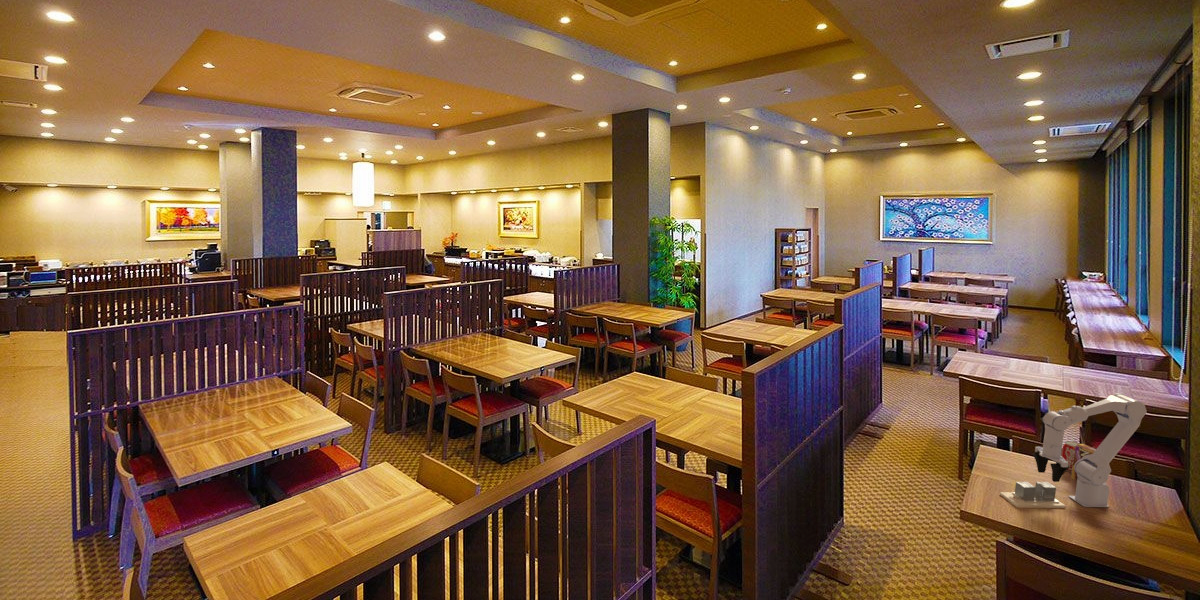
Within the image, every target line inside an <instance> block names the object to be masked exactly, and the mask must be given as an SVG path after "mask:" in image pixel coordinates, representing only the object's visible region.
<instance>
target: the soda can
mask: <svg viewBox="0 0 1200 600" xmlns="http://www.w3.org/2000/svg"><path fill="white" fill-rule="evenodd" d="M1077 444H1080V443H1079V442H1076V441H1069V440H1068V441H1066V440H1065V442H1064V444H1062V451H1061V456H1062V457H1063V458H1064V459H1065V461H1067V462H1068V466H1069V469H1067V470H1066V471H1065V472H1069V473H1072V468H1073V461H1074V454H1075V447H1076V445H1077Z"/></svg>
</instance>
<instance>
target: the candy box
mask: <svg viewBox="0 0 1200 600" xmlns="http://www.w3.org/2000/svg"><path fill="white" fill-rule="evenodd" d="M1096 449H1097V448H1094V447H1092V446H1090V445H1087V444H1084V443H1079V444H1077V445H1076V447H1075V454H1074V461H1073V468H1072V472H1071V475H1070V480H1073V481H1075V482H1077V479H1078V476H1077V473H1076V472H1075V470H1074V465H1075V463H1076V462H1077V461H1079V460H1081V459H1082V458H1083V457H1084V456H1085V455H1091V454H1093V453H1094V452H1095V450H1096ZM1095 465H1096V464H1095ZM1096 466H1097V465H1096ZM1097 467H1098V466H1097Z"/></svg>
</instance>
